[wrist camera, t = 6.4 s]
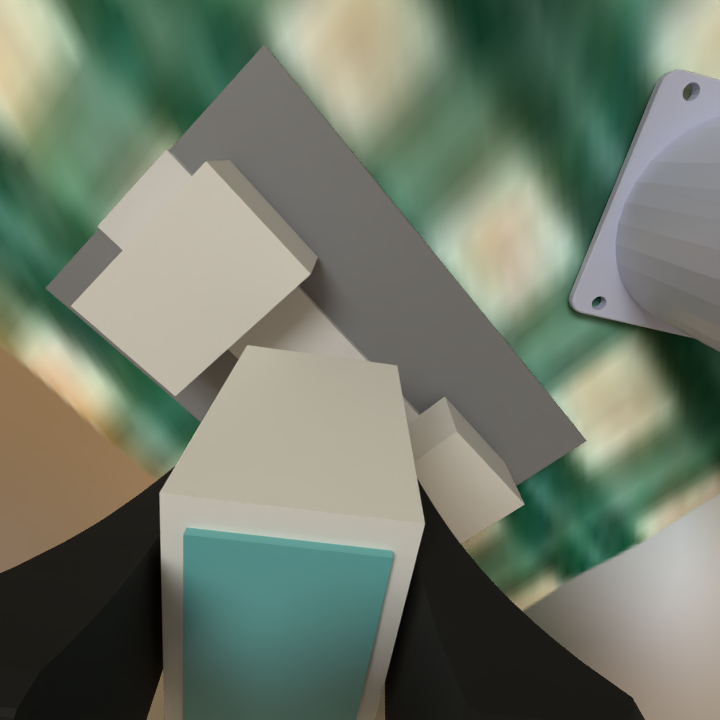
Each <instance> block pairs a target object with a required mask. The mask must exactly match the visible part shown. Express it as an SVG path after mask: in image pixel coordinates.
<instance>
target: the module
mask: <svg viewBox="0 0 720 720" xmlns="http://www.w3.org/2000/svg"><path fill="white" fill-rule="evenodd" d="M159 495H160V542H161V588H162V635H163V679H164V720H375V718H376V714H377V710H378V707H379V703H380V699H381V695H382V691H383V687H384V683H385V679H386V675H387V671H388V667H389V663H390V660H391V656H392V652H393V648H394V644H395V640H396V636H397V632H398V628H399V624H400V620H401V616H402V612H403V608H404V604H405V601H406V597H407V593H408V589H409V585H410V581H411V577H412V573H413V569H414V565H415V561H416V557H417V553H418V549H419V546H420V542H421V538H422V534H423V530H424V526H425V521H424V515H423V509H422V504H421V498H420V492H419V487H418V481H417V475H416V470H415V464H414V458H413V453H412V447H411V441H410V435H409V430H408V424H407V418H406V413H405V407H404V401H403V396H402V390H401V384H400V379H399V373H398V367H397V365H391V364H384V363H376V362H369V361H361V360H354V359H346V358H339V357H332V356H324V355H317V354H309V353H302V352H295V351H287V350H280V349H272V348H265V347H258V346H250V345H247V346H246V348H245V350H244V351H243V353H242V355H241V356H240V358H239V360H238V362H237V363H236V365H235V367H234V368H233V370H232V372H231V373H230V375H229V377H228V378H227V380H226V382H225V383H224V385H223V387H222V388H221V390H220V392H219V394H218V395H217V397H216V399H215V400H214V402H213V404H212V405H211V407H210V409H209V410H208V412H207V414H206V415H205V417H204V419H203V420H202V422H201V424H200V425H199V427H198V429H197V431H196V432H195V434H194V436H193V437H192V439H191V441H190V442H189V444H188V446H187V447H186V449H185V451H184V452H183V454H182V456H181V457H180V459H179V461H178V463H177V464H176V466H175V468H174V469H173V471H172V473H171V474H170V476H169V478H168V479H167V481H166V483H165V484H164V486H163V488H162V489H161V491H160V493H159Z"/></svg>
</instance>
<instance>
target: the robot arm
mask: <svg viewBox="0 0 720 720" xmlns="http://www.w3.org/2000/svg"><path fill="white" fill-rule="evenodd" d="M687 84H688V85H690V86H691V89H692V93H691V96H690V98H689V99H688V100H687V101H686V100H684V99H683V95H682V94H683V89H684V88H685V86H686V85H687ZM598 296H601V302H600V304H599V305H598V306H596V307H592V301H593V300H594V299H595V298H596V297H598ZM569 304H570V306H571V307H572V308H573V309H574V310H576V311H578V312H580V313H584V314H588V315H593V316H597V317H602V318H606V319H610V320H615V321H619V322H624V323H628V324H633V325H637V326H642V327H646V328H650V329H655V330H659V331H664V332H668V333H673V334H677V335H682V336H686V337H690V338H695V339H697V340H698V341H700V342H702V343H704V344H706V345H707V346H709V347H711V348H713V349H715V350H717V351H718V352H720V80H718V79H714V78H711V77H707V76H704V75H700V74H696V73H693V72H689V71H685V70H674V71H671V72H668V73H666V74H664V75H663V76H662V77H661V78H659V80H658V82H657V83H656V85H655V87H654V90H653V92H652V95H651V97H650V99H649V102H648V104H647V107H646V109H645V112H644V114H643V117H642V119H641V121H640V124H639V126H638V129H637V131H636V134H635V136H634V139H633V141H632V144H631V146H630V148H629V151H628V153H627V156H626V158H625V161H624V163H623V166H622V168H621V170H620V173H619V175H618V178H617V180H616V183H615V185H614V188H613V190H612V192H611V195H610V197H609V200H608V202H607V205H606V207H605V210H604V212H603V215H602V217H601V219H600V222H599V224H598V227H597V229H596V232H595V234H594V237H593V239H592V241H591V244H590V246H589V249H588V251H587V254H586V256H585V259H584V261H583V264H582V266H581V268H580V271H579V273H578V276H577V278H576V281H575V283H574V286H573V288H572V290H571V293H570V296H569ZM174 468H175V467H173V468H172V469H171V470H170V471H169V472H167V473H166V474H165V475H164V476H162V477H161V478H160V479H158V480H157V481H156V482H155V483H153V484H152V485H151V486H149V487H148V488H147V489H146V490H144V491H143V492H142V493H140V494H139V495H138V496H136V497H135V498H133V499H132V500H130V501H129V502H128V503H126V504H125V505H124V506H122V507H120V508H119V509H118V510H116V511H115V512H113V513H112V514H110V515H109V516H108V517H106V518H104V519H103V520H101V521H100V522H98V523H96V524H95V525H93V526H91V527H90V528H88V529H86V530H85V531H83V532H81V533H80V534H78V535H76V536H74V537H73V538H71V539H69V540H67V541H66V542H64V543H62V544H60V545H58V546H56V547H54V548H52V549H50V550H48V551H46V552H44V553H42V554H40V555H38V556H36V557H34V558H32V559H30V560H28V561H26V562H24V563H22V564H20V565H18V566H16V567H14V568H11V569H9V570H7V571H4V572H2V573H0V720H146V719H147V716H148V713H149V710H150V707H151V704H152V701H153V697H154V694H155V692H156V689H157V686H158V682H159V680H160V677H161V673H162V670H163V635H162V588H161V542H160V495H159V493H160V491H161V489H162V488H163V486H164V484H165V483H166V481H167V479H168V478H169V476H170V474H171V473H172V471H173V469H174ZM417 481H418V487H419V492H420V498H421V504H422V509H423V515H424V521H425V526H424V530H423V534H422V538H421V542H420V546H419V549H418V553H417V557H416V561H415V565H414V569H413V573H412V577H411V581H410V585H409V589H408V593H407V597H406V601H405V604H404V608H403V612H402V616H401V620H400V624H399V628H398V632H397V636H396V640H395V644H394V648H393V652H392V656H391V660H390V663H389V667H388V671H387V675H386V679H385V720H645V719H644V717H643V715H642V714H641V712H640V710H639V708H638V707H637V705H636V703H635V702H634V700H633V698H632V697H631V696H629V695H628V694H626V693H625V692H624V691H622V690H621V689H619V688H618V687H617V686H615V685H614V684H612V683H611V682H610V681H608V680H607V679H605V678H604V677H603V676H601V675H600V674H598V673H597V672H595V671H594V670H592V669H591V668H590V667H589V666H587V665H586V664H584V663H583V662H582V661H580V660H579V659H578V658H576V657H575V656H574V655H573V654H571V653H570V652H569V651H568V650H566V649H565V648H564V647H563V646H561V645H560V644H559V643H558V642H557V641H555V640H554V639H553V638H552V637H550V636H549V635H548V634H547V633H546V632H545V631H543V630H542V629H541V628H540V627H539V626H538V625H536V624H535V623H534V622H533V621H532V620H531V619H530V618H529V617H528V616H527V615H526V614H524V613H523V612H522V611H521V610H520V609H519V608H518V607H517V606H516V605H515V604H514V603H513V602H512V601H511V600H510V599H509V598H508V597H507V596H506V595H505V594H504V593H503V592H502V591H501V590H500V589H499V588H498V587H497V586H496V585H495V584H494V583H493V582H492V581H491V580H490V579H489V577H488V576H487V575H486V574H485V573H484V572H483V571H482V570H481V569H480V568H479V566H478V565H477V564H476V563H475V562H474V560H473V559H472V558H471V557H470V555H469V554H468V553H467V552H466V550H465V549H464V548H463V546H462V545H461V544H460V543H459V541H458V540H457V538H456V537H455V536H454V534H453V533H452V532H451V530H450V529H449V527H448V526H447V524H446V523H445V521H444V520H443V518H442V517H441V516H440V514H439V513H438V511H437V509H436V508H435V506H434V505H433V503H432V502H431V500H430V498H429V497H428V495H427V494H426V492H425V490H424V489H423V487H422V485H421V483H420V482H419V480H418V478H417Z"/></svg>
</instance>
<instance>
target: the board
mask: <svg viewBox="0 0 720 720" xmlns="http://www.w3.org/2000/svg"><path fill="white" fill-rule="evenodd" d="M98 227H99V229H98V230H97V231H96V233H95V234H94V235H93V236H92V237H91V238H90V239H89V240H88V241H87V243H86V244H85V245H84V246H83V247H82V248H81V249H80V250H79V251H78V253H77V254H76V255H75V256H74V257H73V258H72V259H71V260H70V261H69V263H68V264H67V265H66V266H65V267H64V268H63V269H62V270H61V272H60V273H59V274H58V275H57V276H56V277H55V278H54V279H53V280H52V282H51V283H50V284H49V285H48V286H47V287H46V289H47V290H48V291H49V292H51V293H52V294H53V295H54V296H55V297H56V298H58V299H59V300H60V301H61V302H62V303H63V304H65V305H66V306H67V307H68V308H69V309H70V310H71V311H73V312H74V313H75V314H76V315H77V316H78V317H80V318H81V319H82V320H83V321H84V322H85V323H87V324H88V325H89V326H90V327H91V328H92V329H94V330H95V331H96V332H97V333H98V334H99V335H100V336H102V337H103V338H104V339H105V340H106V341H107V342H109V343H110V344H111V345H112V346H113V347H114V348H116V349H117V350H118V351H119V352H120V353H121V354H123V355H124V356H125V357H126V358H127V359H128V360H129V361H131V362H132V363H133V364H134V365H135V366H136V367H138V368H139V369H140V370H141V371H142V372H143V373H145V374H146V375H147V376H148V377H149V378H150V379H152V380H153V381H154V382H155V383H156V384H157V385H158V386H160V387H161V388H162V389H163V390H164V391H165V392H167V393H168V394H169V395H170V396H171V397H172V398H174V399H175V400H176V401H177V402H178V403H179V404H181V405H182V406H183V407H184V408H185V409H186V410H187V411H189V412H190V413H191V414H192V415H193V416H194V417H196V418H197V419H198V420H199V421H200V422H202V420H203V419H204V417H205V415H206V414H207V412H208V410H209V409H210V407H211V405H212V404H213V402H214V400H215V399H216V397H217V395H218V394H219V392H220V390H221V388H222V387H223V385H224V383H225V382H226V380H227V378H228V377H229V375H230V373H231V372H232V370H233V368H234V367H235V365H236V363H237V362H238V360H239V358H240V356H241V355H242V353H243V351H244V350H245V348H246V346H247V345H250V346H258V347H265V348H272V349H280V350H287V351H295V352H302V353H309V354H317V355H324V356H332V357H339V358H346V359H354V360H361V361H369V362H376V363H384V364H391V365H397V367H398V373H399V379H400V384H401V390H402V396H403V401H404V407H405V413H406V418H407V424H408V430H409V435H410V441H411V447H412V453H413V458H414V464H415V470H416V475H417V478H418V480H419V482H420V483H421V485H422V487H423V489H424V490H425V492H426V494H427V495H428V497H429V498H430V500H431V502H432V503H433V505H434V506H435V508H436V509H437V511H438V513H439V514H440V516H441V517H442V518H443V520H444V521H445V523H446V524H447V526H448V527H449V529H450V530H451V532H452V533H453V534H454V536H455V537H456V538H457V540H458V541H459V543H460V544H462V543H464V542H465V541H467V540H469V539H470V538H472V537H473V536H475V535H477V534H478V533H480V532H481V531H483V530H485V529H486V528H488V527H489V526H491V525H492V524H494V523H496V522H497V521H499V520H500V519H502V518H504V517H505V516H507V515H508V514H510V513H512V512H513V511H515V510H516V509H518V508H520V507H521V506H523V505H524V502H523V500H522V498H521V496H520V494H519V491H518V489H517V487H516V486H517V485H518V484H520V483H522V482H523V481H525V480H526V479H528V478H529V477H531V476H532V475H534V474H536V473H537V472H539V471H540V470H542V469H543V468H545V467H546V466H548V465H550V464H551V463H553V462H554V461H556V460H557V459H559V458H560V457H562V456H564V455H565V454H567V453H568V452H570V451H571V450H573V449H574V448H576V447H578V446H579V445H581V444H582V443H584V442H585V441H586V440H585V438H584V437H583V436H582V435H581V433H580V432H579V431H578V429H577V428H576V427H575V426H574V424H573V423H572V422H571V421H570V420H569V418H568V417H567V416H566V415H565V413H564V412H563V411H562V410H561V408H560V407H559V406H558V405H557V404H556V402H555V401H554V400H553V399H552V397H551V396H550V395H549V394H548V392H547V391H546V390H545V389H544V388H543V386H542V385H541V384H540V383H539V381H538V380H537V379H536V378H535V376H534V375H533V374H532V373H531V372H530V370H529V369H528V368H527V367H526V365H525V364H524V363H523V362H522V360H521V359H520V358H519V357H518V356H517V354H516V353H515V352H514V351H513V349H512V348H511V347H510V346H509V344H508V343H507V342H506V341H505V340H504V338H503V337H502V336H501V335H500V333H499V332H498V331H497V330H496V328H495V327H494V326H493V325H492V324H491V322H490V321H489V320H488V319H487V317H486V316H485V315H484V314H483V312H482V311H481V310H480V309H479V308H478V306H477V305H476V304H475V303H474V301H473V300H472V299H471V298H470V296H469V295H468V294H467V293H466V292H465V290H464V289H463V288H462V287H461V285H460V284H459V283H458V282H457V280H456V279H455V278H454V277H453V276H452V274H451V273H450V272H449V271H448V269H447V268H446V267H445V266H444V264H443V263H442V262H441V261H440V260H439V258H438V257H437V256H436V255H435V253H434V252H433V251H432V250H431V248H430V247H429V246H428V245H427V244H426V242H425V241H424V240H423V239H422V237H421V236H420V235H419V234H418V232H417V231H416V230H415V229H414V228H413V226H412V225H411V224H410V223H409V221H408V220H407V219H406V218H405V216H404V215H403V214H402V213H401V212H400V210H399V209H398V208H397V207H396V205H395V204H394V203H393V202H392V200H391V199H390V198H389V197H388V196H387V194H386V193H385V192H384V191H383V189H382V188H381V187H380V186H379V184H378V183H377V182H376V181H375V180H374V178H373V177H372V176H371V175H370V173H369V172H368V171H367V170H366V168H365V167H364V166H363V165H362V164H361V162H360V161H359V160H358V159H357V157H356V156H355V155H354V154H353V152H352V151H351V150H350V149H349V148H348V146H347V145H346V144H345V143H344V141H343V140H342V139H341V138H340V136H339V135H338V134H337V133H336V132H335V130H334V129H333V128H332V127H331V125H330V124H329V123H328V122H327V120H326V119H325V118H324V117H323V116H322V114H321V113H320V112H319V111H318V109H317V108H316V107H315V106H314V104H313V103H312V102H311V101H310V100H309V98H308V97H307V96H306V95H305V93H304V92H303V91H302V90H301V88H300V87H299V86H298V85H297V84H296V82H295V81H294V80H293V79H292V77H291V76H290V75H289V74H288V72H287V71H286V70H285V69H284V68H283V66H282V65H281V64H280V63H279V61H278V60H277V59H276V58H275V56H274V55H273V54H272V53H271V52H270V50H269V49H268V48H267V47H266V46H265V45H264V46H263V47H262V48H261V49H260V50H259V51H258V52H257V53H256V54H255V56H254V57H253V58H252V59H251V60H250V61H249V62H248V63H247V64H246V66H245V67H244V68H243V69H242V70H241V71H240V72H239V73H238V75H237V76H236V77H235V78H234V79H233V80H232V81H231V82H230V83H229V85H228V86H227V87H226V88H225V89H224V90H223V91H222V92H221V93H220V95H219V96H218V97H217V98H216V99H215V100H214V101H213V102H212V103H211V105H210V106H209V107H208V108H207V109H206V110H205V111H204V112H203V113H202V115H201V116H200V117H199V118H198V119H197V120H196V121H195V122H194V123H193V125H192V126H191V127H190V128H189V129H188V130H187V131H186V132H185V133H184V135H183V136H182V137H181V138H180V139H179V140H178V141H177V142H176V144H175V145H174V146H173V147H172V148H171V149H170V150H166V151H165V152H164V153H163V154H162V155H161V156H160V157H159V158H158V160H157V161H156V162H155V163H154V164H153V165H152V166H151V167H150V168H149V170H148V171H147V172H146V173H145V174H144V175H143V176H142V177H141V179H140V180H139V181H138V182H137V183H136V184H135V185H134V186H133V187H132V189H131V190H130V191H129V192H128V193H127V194H126V195H125V196H124V197H123V199H122V200H121V201H120V202H119V203H118V204H117V205H116V206H115V208H114V209H113V210H112V211H111V212H110V213H109V214H108V215H107V216H106V218H105V219H104V220H103V221H102V222H101V223H100V224H99V225H98Z"/></svg>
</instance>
